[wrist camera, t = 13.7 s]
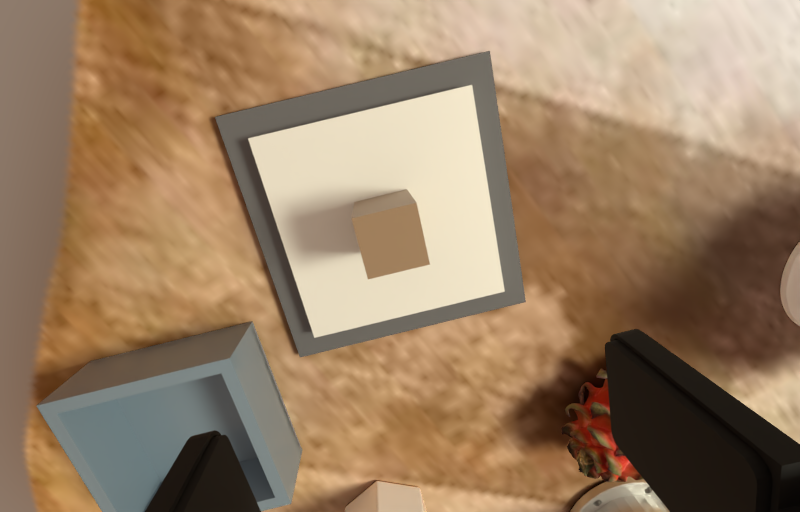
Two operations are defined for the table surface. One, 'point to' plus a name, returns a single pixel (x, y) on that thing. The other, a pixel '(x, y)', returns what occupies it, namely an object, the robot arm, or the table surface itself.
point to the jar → (388, 499)
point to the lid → (384, 210)
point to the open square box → (175, 417)
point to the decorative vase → (791, 286)
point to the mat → (351, 101)
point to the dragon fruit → (596, 437)
